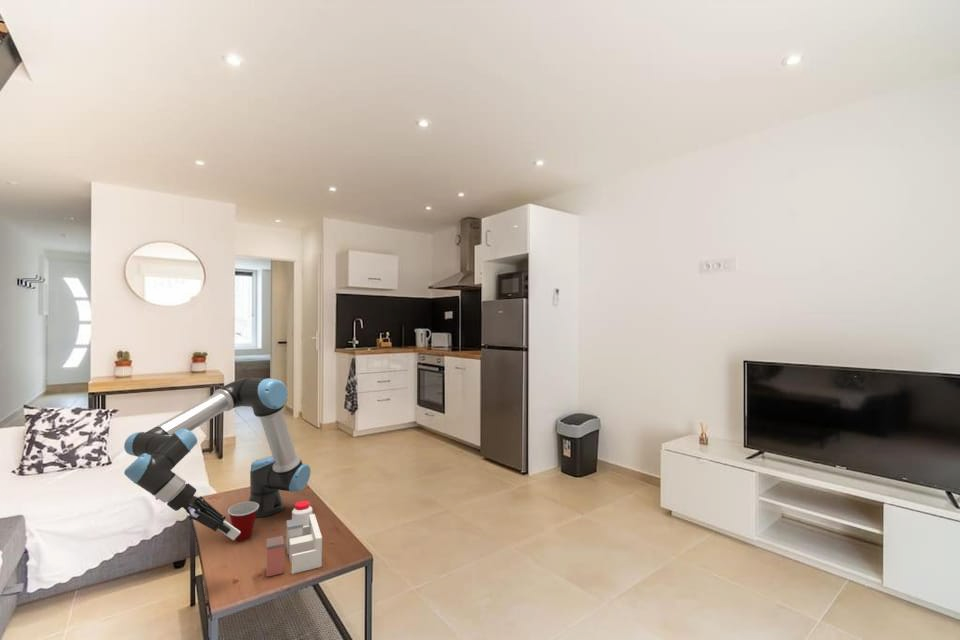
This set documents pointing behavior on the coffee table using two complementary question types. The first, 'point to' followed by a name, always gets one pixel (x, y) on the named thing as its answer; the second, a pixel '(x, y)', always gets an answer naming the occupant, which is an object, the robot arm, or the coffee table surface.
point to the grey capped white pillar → (294, 530)
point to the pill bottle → (302, 511)
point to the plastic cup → (243, 518)
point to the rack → (306, 548)
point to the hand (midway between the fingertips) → (236, 535)
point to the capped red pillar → (274, 555)
